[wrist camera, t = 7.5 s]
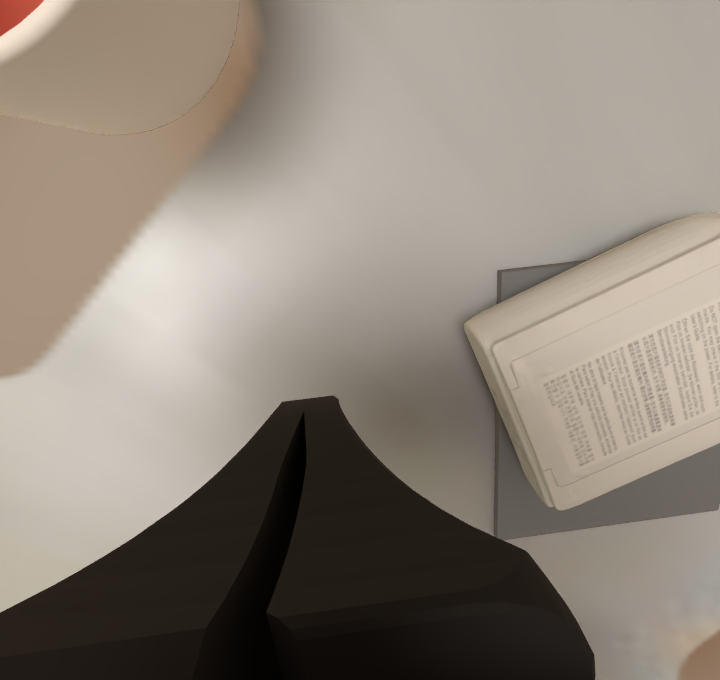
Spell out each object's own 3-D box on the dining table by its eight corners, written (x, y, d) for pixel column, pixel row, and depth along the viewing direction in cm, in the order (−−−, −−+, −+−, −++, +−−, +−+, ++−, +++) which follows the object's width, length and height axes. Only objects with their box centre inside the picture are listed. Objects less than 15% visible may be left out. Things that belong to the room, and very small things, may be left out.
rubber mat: (710, 504, 26) (717, 510, 26) (494, 534, 26) (497, 540, 25) (774, 238, 20) (784, 239, 20) (497, 270, 20) (501, 272, 20)
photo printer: (520, 472, 23) (738, 372, 22) (561, 531, 19) (829, 413, 18) (449, 312, 20) (702, 185, 19) (481, 343, 16) (805, 185, 15)
